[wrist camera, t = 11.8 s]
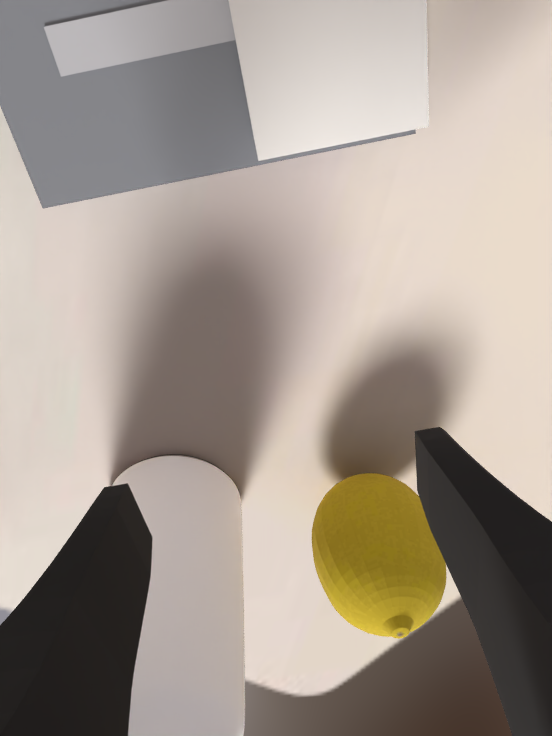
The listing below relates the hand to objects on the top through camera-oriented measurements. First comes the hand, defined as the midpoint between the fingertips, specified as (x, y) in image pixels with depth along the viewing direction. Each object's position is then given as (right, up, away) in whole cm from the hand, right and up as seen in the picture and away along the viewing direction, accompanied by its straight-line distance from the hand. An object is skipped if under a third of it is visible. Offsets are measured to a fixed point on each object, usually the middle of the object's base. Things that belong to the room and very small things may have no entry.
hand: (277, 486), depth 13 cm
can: (-5, -3, +13) cm, 14 cm away
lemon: (+4, -3, +13) cm, 14 cm away
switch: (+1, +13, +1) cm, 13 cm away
